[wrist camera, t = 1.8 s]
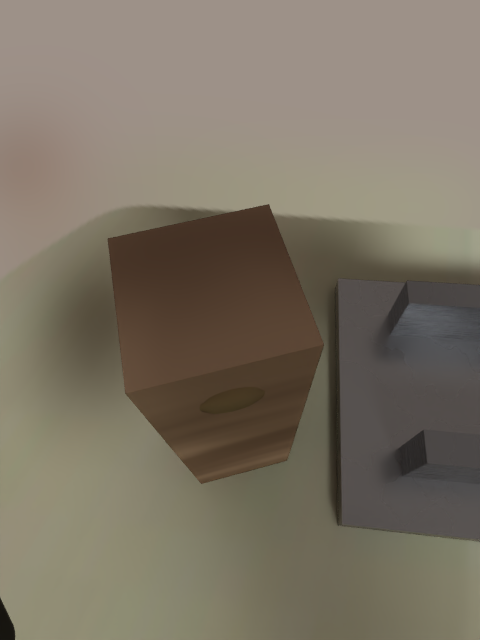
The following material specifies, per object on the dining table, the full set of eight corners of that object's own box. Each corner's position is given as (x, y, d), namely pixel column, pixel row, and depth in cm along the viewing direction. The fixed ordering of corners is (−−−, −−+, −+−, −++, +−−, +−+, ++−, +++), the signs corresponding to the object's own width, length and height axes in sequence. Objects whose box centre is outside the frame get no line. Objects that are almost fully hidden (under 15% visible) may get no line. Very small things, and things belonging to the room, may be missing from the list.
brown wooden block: (287, 460, 19) (324, 344, 8) (201, 483, 18) (125, 393, 8) (263, 380, 21) (269, 204, 10) (185, 400, 20) (108, 238, 10)
